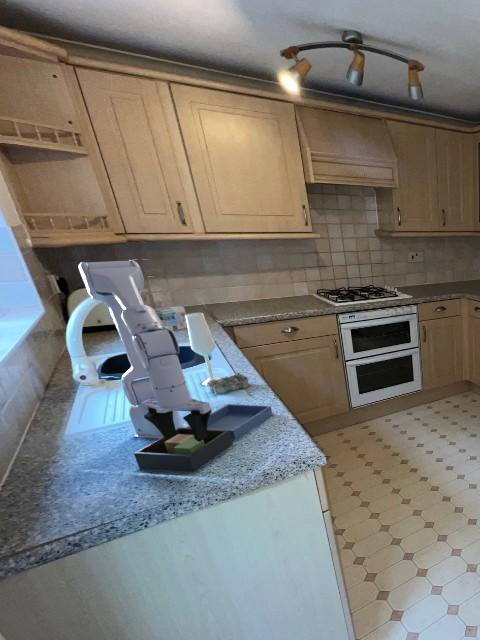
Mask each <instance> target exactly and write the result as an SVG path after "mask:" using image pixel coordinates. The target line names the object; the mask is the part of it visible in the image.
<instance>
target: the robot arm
mask: <svg viewBox="0 0 480 640" xmlns="http://www.w3.org/2000/svg"><path fill="white" fill-rule="evenodd" d="M78 271H79V273H80V276H81V278H82V281H83V283H84V285H85V288H86V290H87V293H88V295H89V296H90V297H91V299H92V300H95V301H100V302H103V304H104V305H105V306H106V307H107V309H108V310H109V312H110V315H111V318H112V320H113V323H114V326H115V328H116V330H117V334H118V335H119V338H120V340H121V342H122V346H123V348H124V351H125V354H126V357H127V359H128V361H129V364H130V367H129V369H128V370H127V371H126V372H125V373H123V374H122V375H121V379H120V381H121V384H122V389H123V391H124V394H125V397H126V399H127V401H128V403H129V404H130V405H131V406H130V408H129V417H130V420H131V422H132V425H133V428H134V431H135V433H136V434H134V435H133V438H147V439H160V438H162V437H163V436H164V437H165V439H166V440H169V439H171V438H173V437H174V436H176V429H178V428H187V427H188V426H190V427H191V429H192V431H193V434H194V436H195V439H196V440H197V441H199V442H200V441H202V440H204V439H205V438H207V424H208V420H209V417H210V414H211V413H213V412H212V411H213V409H212V408H211V405H210V402H207V401H202V400H198V399H196V398H192V397H191V396H190V395H191V394H190V392H189V389H188V385H187V381H186V379H185V376H184V372H183V369H182V366H181V363H180V359H179V356H178V355H179V354H180V344H179V341H178V340H177V337H176V335H175V333H174V331H172V330H171V329H170V328H168V327H167V326H164V325H163V324H162V322H161V320H160V319H159V317H158V315H157V314H156V312H155V310H154V308H153V307H151V306H150V305H146V304H145V303H144V300H143V298H142V295H143V292H144V286H145V278H144V273H143V271H142V268H141V266H140V264H139V263H138V262H137V261H135V260H133V259H129V260H116V261H115V260H114V261H113V260H112V261H93V262H91V261H90V262H85V261H81V262H80V263H79V264H78ZM179 412H189V413H188V414H186V415H184V416H183V417H182V419H183V420H184V421H185V422H186V423H183V422H182V419H181V416H180V413H179Z"/></svg>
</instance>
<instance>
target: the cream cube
mask: <svg viewBox="0 0 480 640" xmlns="http://www.w3.org/2000/svg"><path fill="white" fill-rule="evenodd" d="M187 439H193V440H195V438H194V435H184V434H178V435H176V436H174V437H173V438H171V439H169V440H167V441H166V442H164V443H165V446H166V449H167V452H168V454H176V453H175V450H174V447H176V446H177V445H179V444H181V443H182V442H184V441H186V440H187Z"/></svg>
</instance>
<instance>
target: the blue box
mask: <svg viewBox="0 0 480 640" xmlns="http://www.w3.org/2000/svg"><path fill="white" fill-rule="evenodd" d="M272 415H273V410H272V406H271V405H257V404H255V405H253V404H238V403H236V404H235V403H227V404H225V405H224V406H222V407H220V408H218V409H216V410H215V411H213V412H211V414H210V417H209V420H208V424H207V429H213V430H229V432H230V436H231V439H232V441H233V440H235V441H236V440H237V439H239V438H240V437H242V436H243V435H245V434H246V433H248V432H249V431H250V430H252V429H253V428H255V427H256V426H257V425H259V424H261V423H262V422H264V421H265V420H266V419H268V418H270V417H271V416H272ZM187 428H191V427H190V426H188V427H187Z"/></svg>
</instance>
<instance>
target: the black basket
mask: <svg viewBox="0 0 480 640" xmlns="http://www.w3.org/2000/svg"><path fill="white" fill-rule="evenodd" d="M178 434H184V435H194V434H193V431H192V429H191V428H178V429H176V435H178ZM194 438H195V436H194ZM195 440H196V439H195ZM166 441H167V440H166V439H165V437H164V436H163V437H162V438H157V440H155V441H153V442H151V443H149V444H147V445H146V446H144V447H142V448H140V449H138V450H136V451H134V452H133V455H134V457H135V462H136V463H137V466H138V468H139V469H141V470H158V471H171V472H173V471H174V472H191V473H195V472H196V471H198V470H199V469H201V468H202V467H204V466H205V465H206V464H207V463H209V462H210V461H212V460H213V459H215V458H216V457H217V456H219V455H221V454H222V453H223V452H224V451H226V450H228V449H229V448H230V447H232V446H233V445H234V443H233V439H231V436H230V432H229V430H213V429H207V438H205V439H204V444H205V445H203V446H202V447H200V448H199V449H197V450H196V451H194V452H193V453H191V454H190V455H180V454H168V452H167V449H166V446H165V443H164V442H166Z"/></svg>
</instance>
